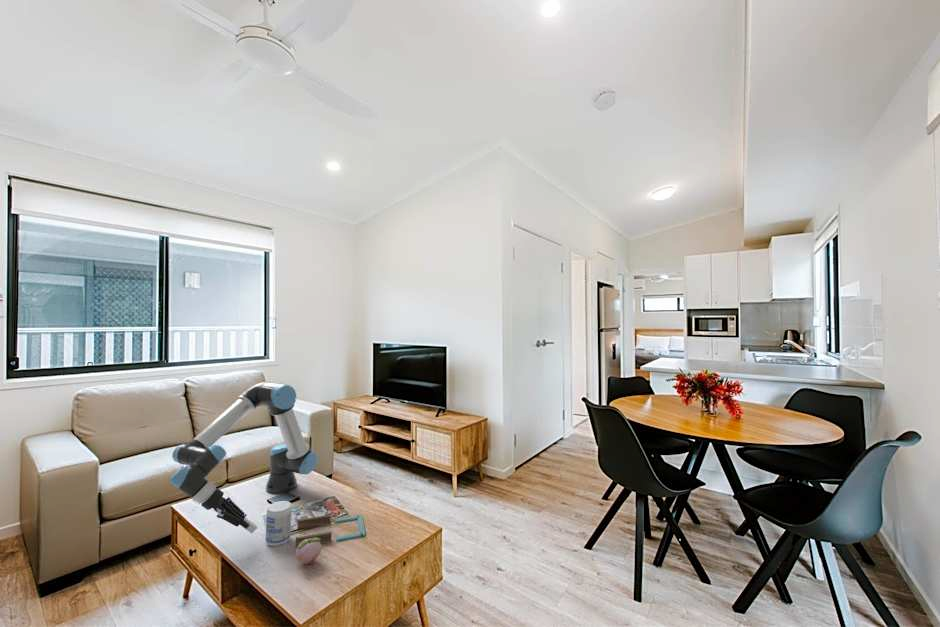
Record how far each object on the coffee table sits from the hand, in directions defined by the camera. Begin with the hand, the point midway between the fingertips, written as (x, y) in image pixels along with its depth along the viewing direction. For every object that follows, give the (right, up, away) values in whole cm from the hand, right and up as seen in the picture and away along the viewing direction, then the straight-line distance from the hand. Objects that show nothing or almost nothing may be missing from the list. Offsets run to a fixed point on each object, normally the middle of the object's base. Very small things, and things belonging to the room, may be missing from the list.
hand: (254, 529), depth 162 cm
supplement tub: (+8, -6, +3) cm, 11 cm away
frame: (+34, -7, +13) cm, 37 cm away
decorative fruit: (+27, -7, -11) cm, 30 cm away
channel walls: (+21, -7, +8) cm, 24 cm away
